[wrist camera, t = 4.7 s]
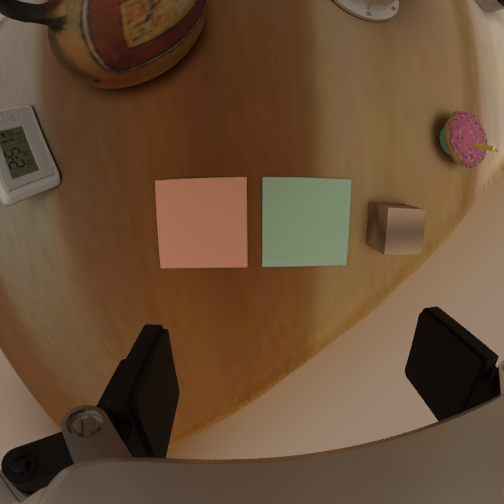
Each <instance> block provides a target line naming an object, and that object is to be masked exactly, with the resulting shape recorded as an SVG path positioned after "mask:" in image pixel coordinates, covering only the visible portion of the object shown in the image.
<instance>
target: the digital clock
mask: <svg viewBox="0 0 504 504" xmlns="http://www.w3.org/2000/svg"><path fill="white" fill-rule="evenodd" d="M59 184H60V176H59V172H58V170H57V167H56V165H55V163H54V161H53V158H52V156H51V154H50V151H49V149H48V147H47V144H46V142H45V140H44V137H43V135H42V132H41V130H40V127H39V124H38V122H37V119H36V117H35V114H34V111H33V109H32V107H31V105H29V104H24V105H17V106H11V107H6V108H0V202H1V204H2V205H3V206H5V207H7V206H11V205H13V204H16V203H18V202H20V201H22V200H25V199H27V198H29V197H32V196H34V195H37V194H39V193H42V192H44V191H47V190H49V189H52V188H54V187H56V186H58V185H59Z"/></svg>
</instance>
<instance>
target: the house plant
mask: <svg viewBox="0 0 504 504" xmlns="http://www.w3.org/2000/svg"><path fill="white" fill-rule="evenodd" d="M475 1H476V3H477V4H478V5H479V6H480V7H481V8H482V9H483V10H484V11H486V12H490V11H495V10H500V9H504V0H475Z"/></svg>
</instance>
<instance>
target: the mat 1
mask: <svg viewBox="0 0 504 504" xmlns="http://www.w3.org/2000/svg"><path fill="white" fill-rule="evenodd" d="M155 192H156V212H157V228H158V242H159V254H160V265H161V268H227V267H247V177H219V178H191V179H171V180H155Z"/></svg>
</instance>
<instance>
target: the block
mask: <svg viewBox="0 0 504 504" xmlns="http://www.w3.org/2000/svg"><path fill="white" fill-rule="evenodd" d="M425 214H426V210H425V209H422V208H418V207H414V206H410V205H406V204H397V203H379V202H369V210H368V226H367V239H366V244H367V245H369V246H371V247H372V248H374V249H375V250H377V251H379V252H380V253H382V254H383V255H406V254H421V251H422V243H423V235H424V225H425Z"/></svg>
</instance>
